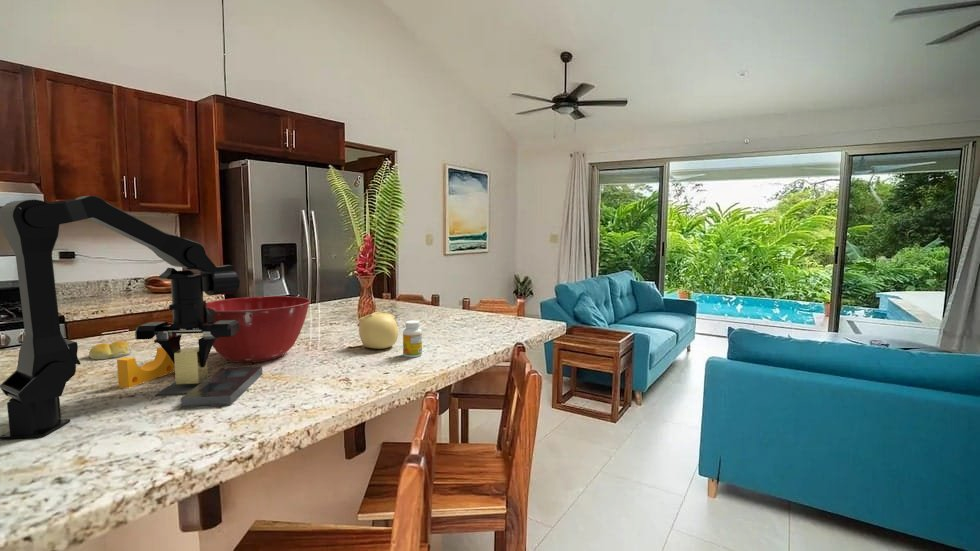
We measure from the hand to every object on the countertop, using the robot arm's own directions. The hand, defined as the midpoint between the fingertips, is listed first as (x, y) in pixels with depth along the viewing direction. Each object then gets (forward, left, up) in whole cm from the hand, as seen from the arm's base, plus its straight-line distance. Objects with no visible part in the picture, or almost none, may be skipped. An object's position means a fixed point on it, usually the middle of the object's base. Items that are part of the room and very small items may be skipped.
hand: (191, 367), depth 99 cm
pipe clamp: (+8, +13, -5) cm, 16 cm away
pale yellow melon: (+30, -39, -5) cm, 49 cm away
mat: (0, 0, -4) cm, 4 cm away
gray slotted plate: (-3, -8, -4) cm, 10 cm away
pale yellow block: (0, 0, -3) cm, 3 cm away
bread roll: (+31, +34, -5) cm, 46 cm away
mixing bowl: (+25, -6, -5) cm, 26 cm away
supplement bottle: (+19, -49, -5) cm, 53 cm away
